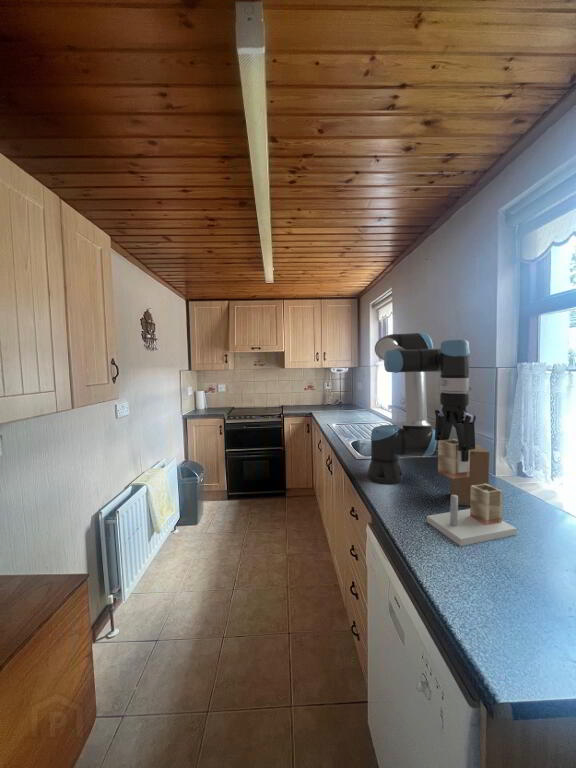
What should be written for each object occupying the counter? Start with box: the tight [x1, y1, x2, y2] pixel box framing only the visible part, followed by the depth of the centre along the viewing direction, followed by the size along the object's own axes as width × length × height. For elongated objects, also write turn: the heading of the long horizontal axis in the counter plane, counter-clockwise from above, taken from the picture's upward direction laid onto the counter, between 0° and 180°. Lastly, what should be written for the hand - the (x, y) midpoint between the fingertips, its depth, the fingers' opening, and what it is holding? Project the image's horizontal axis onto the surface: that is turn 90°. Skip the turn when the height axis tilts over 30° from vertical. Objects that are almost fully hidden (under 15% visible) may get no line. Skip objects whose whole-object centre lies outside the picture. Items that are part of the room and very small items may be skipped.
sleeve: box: [437, 438, 470, 479], centre depth 95 cm, size 6×6×10 cm
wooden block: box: [449, 444, 490, 507], centre depth 116 cm, size 10×10×20 cm
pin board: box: [426, 490, 518, 547], centre depth 97 cm, size 14×20×11 cm
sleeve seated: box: [469, 484, 504, 525], centre depth 99 cm, size 6×6×10 cm
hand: (453, 468), depth 95 cm, fingers closed on sleeve, 6 cm apart
